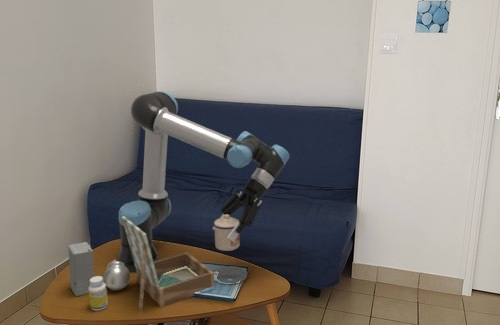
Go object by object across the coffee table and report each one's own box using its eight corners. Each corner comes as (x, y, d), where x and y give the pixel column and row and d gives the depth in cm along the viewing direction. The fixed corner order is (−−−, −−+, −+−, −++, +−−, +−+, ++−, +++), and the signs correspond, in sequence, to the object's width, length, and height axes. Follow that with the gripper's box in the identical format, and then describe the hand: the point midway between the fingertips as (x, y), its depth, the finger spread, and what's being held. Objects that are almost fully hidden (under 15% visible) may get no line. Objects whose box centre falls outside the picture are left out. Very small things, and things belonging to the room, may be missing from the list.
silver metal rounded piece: (134, 281, 165) (132, 255, 162) (127, 295, 156) (125, 267, 153) (109, 281, 165) (106, 255, 162) (100, 295, 156) (98, 268, 153)
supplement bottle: (92, 302, 151) (89, 275, 149) (109, 301, 152) (107, 274, 149) (88, 311, 146) (85, 283, 144) (106, 310, 147) (103, 282, 144)
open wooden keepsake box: (119, 289, 161) (113, 217, 154) (187, 268, 175) (184, 202, 169) (141, 315, 145) (135, 237, 138) (214, 290, 159) (212, 218, 153)
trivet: (207, 274, 169) (207, 272, 169) (235, 265, 176) (235, 263, 175) (225, 288, 159) (225, 285, 159) (253, 278, 166) (253, 275, 166)
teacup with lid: (235, 252, 158) (234, 221, 155) (210, 249, 161) (209, 218, 158) (245, 238, 169) (245, 208, 166) (222, 236, 172) (221, 206, 169)
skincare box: (70, 287, 161) (65, 245, 157) (90, 281, 165) (86, 240, 161) (76, 297, 154) (71, 254, 150) (97, 291, 158) (93, 248, 154)
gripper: (283, 196, 160) (246, 250, 155) (248, 182, 177) (213, 230, 172) (271, 184, 156) (232, 240, 151) (236, 171, 173) (200, 220, 168)
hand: (222, 235), depth 161 cm, fingers closed on teacup with lid, 9 cm apart
